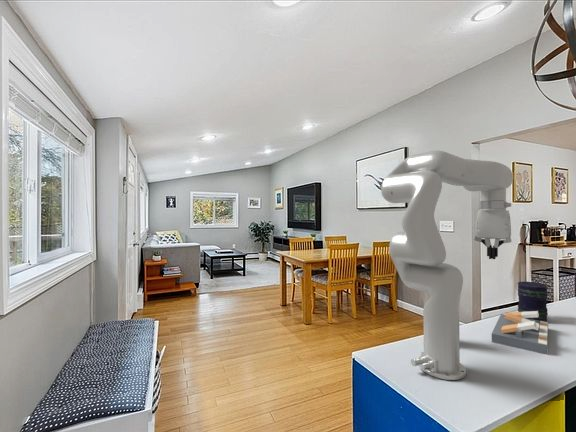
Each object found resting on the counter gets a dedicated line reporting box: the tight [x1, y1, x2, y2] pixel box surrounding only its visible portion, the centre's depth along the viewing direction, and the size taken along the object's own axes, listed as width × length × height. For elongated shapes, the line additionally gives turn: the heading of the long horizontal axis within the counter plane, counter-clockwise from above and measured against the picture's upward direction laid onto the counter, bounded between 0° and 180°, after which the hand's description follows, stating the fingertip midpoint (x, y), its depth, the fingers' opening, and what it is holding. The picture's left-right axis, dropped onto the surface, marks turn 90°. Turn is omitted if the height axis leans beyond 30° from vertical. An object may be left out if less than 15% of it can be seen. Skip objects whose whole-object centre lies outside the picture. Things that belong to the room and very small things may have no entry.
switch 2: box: [504, 311, 539, 330], centre depth 111 cm, size 4×10×2 cm, turn 49°
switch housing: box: [491, 313, 549, 355], centre depth 111 cm, size 26×15×5 cm, turn 139°
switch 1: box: [508, 311, 539, 318], centre depth 117 cm, size 4×10×2 cm, turn 49°
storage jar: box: [517, 281, 549, 322], centre depth 128 cm, size 10×10×15 cm
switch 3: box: [501, 321, 536, 333], centre depth 105 cm, size 4×10×2 cm, turn 49°
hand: (492, 258), depth 105 cm, fingers closed
